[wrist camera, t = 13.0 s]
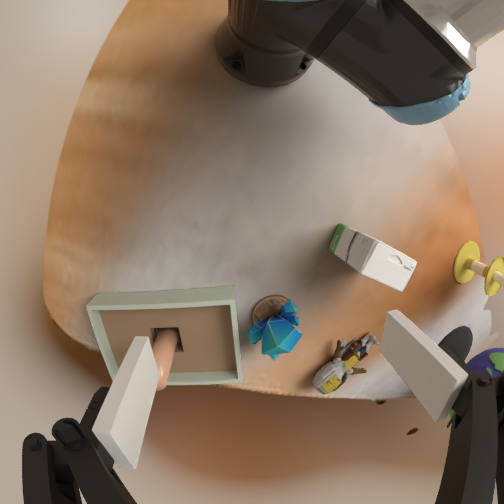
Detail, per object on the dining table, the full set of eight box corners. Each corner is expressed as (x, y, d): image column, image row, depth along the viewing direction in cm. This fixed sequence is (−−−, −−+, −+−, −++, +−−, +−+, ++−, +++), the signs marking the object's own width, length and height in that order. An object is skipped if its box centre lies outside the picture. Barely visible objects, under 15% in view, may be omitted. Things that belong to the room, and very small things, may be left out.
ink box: (326, 249, 43) (358, 275, 32) (339, 221, 42) (375, 238, 31) (366, 267, 45) (403, 294, 33) (379, 241, 44) (419, 262, 32)
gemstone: (239, 314, 45) (243, 358, 33) (281, 284, 44) (299, 321, 32) (264, 342, 47) (275, 388, 35) (305, 315, 46) (327, 355, 34)
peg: (157, 323, 44) (137, 371, 32) (177, 323, 44) (163, 371, 32) (161, 341, 45) (145, 390, 33) (181, 340, 45) (169, 390, 33)
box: (97, 293, 42) (85, 305, 37) (234, 285, 43) (235, 299, 39) (120, 366, 46) (113, 382, 41) (241, 364, 48) (243, 382, 43)
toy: (391, 358, 47) (336, 408, 47) (378, 346, 52) (326, 393, 52) (368, 325, 44) (304, 382, 43) (354, 313, 49) (295, 366, 49)
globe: (484, 307, 52) (557, 360, 23) (465, 369, 58) (519, 425, 29) (428, 332, 51) (510, 411, 22) (410, 397, 57) (463, 472, 28)
